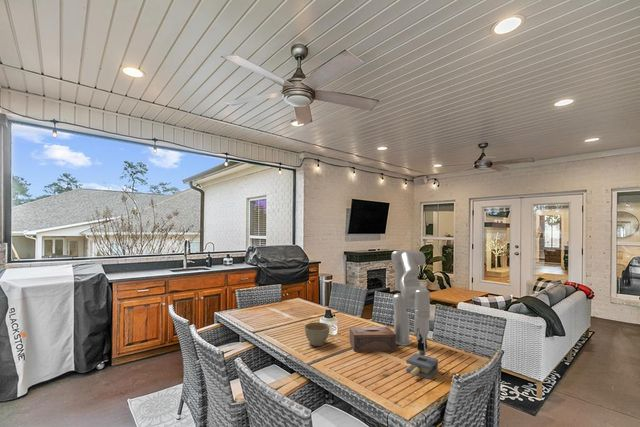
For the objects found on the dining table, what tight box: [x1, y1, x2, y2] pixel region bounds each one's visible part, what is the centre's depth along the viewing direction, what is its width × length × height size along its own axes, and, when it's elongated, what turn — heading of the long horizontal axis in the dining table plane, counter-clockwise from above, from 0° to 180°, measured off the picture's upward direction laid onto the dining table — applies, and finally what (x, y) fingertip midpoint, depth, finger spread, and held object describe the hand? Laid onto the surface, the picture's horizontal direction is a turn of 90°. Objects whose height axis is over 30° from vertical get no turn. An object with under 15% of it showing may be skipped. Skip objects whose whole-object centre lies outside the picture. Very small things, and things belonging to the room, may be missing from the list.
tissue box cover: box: [349, 326, 397, 352], centre depth 195 cm, size 26×14×10 cm, turn 95°
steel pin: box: [418, 335, 426, 356], centre depth 162 cm, size 3×3×10 cm
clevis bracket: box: [405, 352, 439, 380], centre depth 159 cm, size 12×18×6 cm, turn 141°
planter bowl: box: [304, 321, 331, 347], centre depth 199 cm, size 16×16×11 cm
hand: (422, 348), depth 162 cm, fingers closed on steel pin, 3 cm apart
